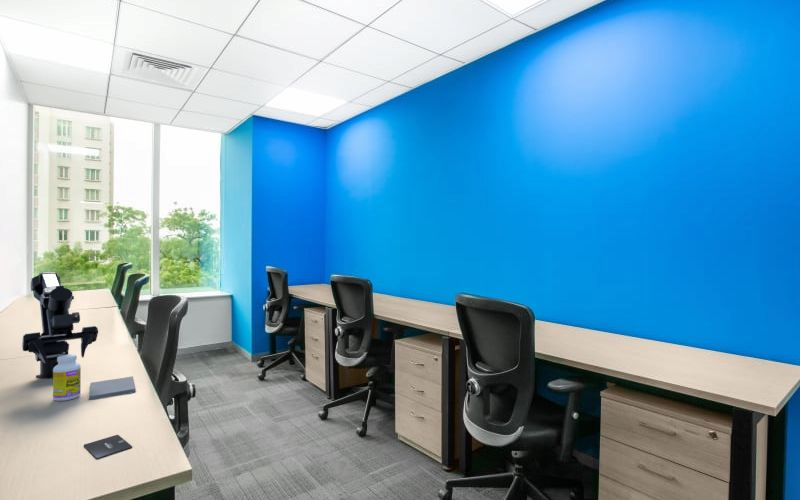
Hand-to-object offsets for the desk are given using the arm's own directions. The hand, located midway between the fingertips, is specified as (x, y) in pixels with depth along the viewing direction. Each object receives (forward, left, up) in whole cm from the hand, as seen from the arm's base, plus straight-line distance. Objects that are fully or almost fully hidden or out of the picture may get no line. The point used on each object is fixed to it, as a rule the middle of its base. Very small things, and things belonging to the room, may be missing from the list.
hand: (64, 359), depth 132 cm
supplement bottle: (+3, -2, -11) cm, 12 cm away
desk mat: (+9, +8, -11) cm, 17 cm away
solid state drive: (+45, -24, -12) cm, 53 cm away
